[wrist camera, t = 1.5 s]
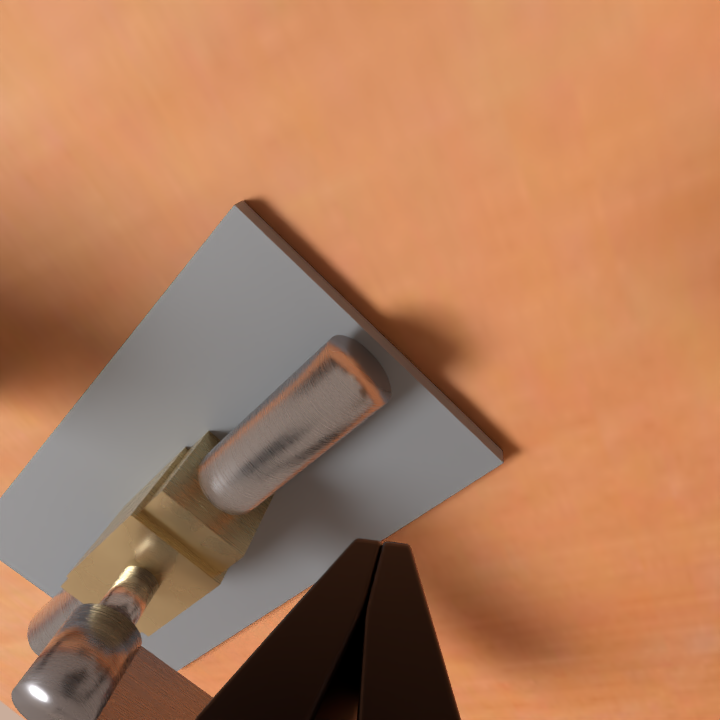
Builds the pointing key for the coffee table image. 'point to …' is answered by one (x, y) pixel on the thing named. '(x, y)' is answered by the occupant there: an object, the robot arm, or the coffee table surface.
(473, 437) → the mounting board
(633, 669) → the coffee table surface
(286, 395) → the valve body
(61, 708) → the valve lever
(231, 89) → the coffee table surface
